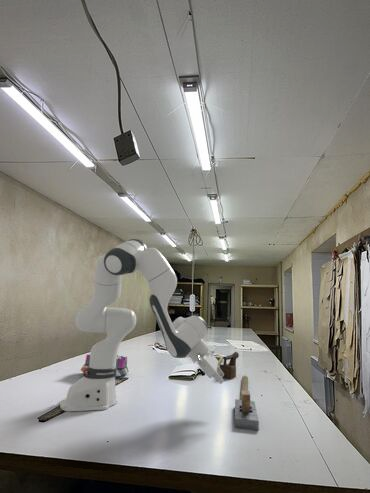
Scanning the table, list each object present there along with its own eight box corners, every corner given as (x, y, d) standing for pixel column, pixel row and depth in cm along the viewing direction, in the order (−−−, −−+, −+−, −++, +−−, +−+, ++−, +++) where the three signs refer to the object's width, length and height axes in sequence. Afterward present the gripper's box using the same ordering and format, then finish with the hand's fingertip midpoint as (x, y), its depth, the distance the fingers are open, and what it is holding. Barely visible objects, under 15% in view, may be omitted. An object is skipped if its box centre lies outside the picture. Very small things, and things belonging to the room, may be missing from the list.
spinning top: (104, 382, 150) (108, 350, 155) (68, 374, 165) (73, 345, 169) (138, 378, 172) (141, 350, 176) (104, 371, 186) (108, 346, 190)
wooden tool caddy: (242, 375, 184) (242, 352, 186) (230, 379, 171) (230, 355, 174) (230, 373, 188) (231, 351, 191) (218, 377, 176) (218, 353, 179)
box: (223, 364, 208) (223, 356, 208) (214, 376, 187) (214, 368, 187) (212, 363, 211) (211, 355, 211) (202, 375, 190) (202, 367, 190)
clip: (242, 419, 112) (242, 394, 114) (241, 414, 118) (241, 390, 119) (250, 420, 112) (250, 394, 114) (249, 415, 117) (249, 390, 119)
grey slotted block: (235, 427, 105) (235, 418, 105) (235, 406, 126) (235, 399, 127) (258, 430, 104) (258, 420, 104) (254, 408, 125) (254, 401, 125)
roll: (248, 381, 171) (248, 375, 172) (248, 405, 130) (248, 398, 130) (241, 380, 172) (241, 375, 173) (240, 404, 131) (240, 397, 131)
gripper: (202, 351, 113) (228, 380, 110) (206, 343, 133) (228, 368, 130) (190, 362, 113) (215, 392, 110) (196, 352, 133) (218, 378, 130)
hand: (222, 379), depth 120 cm, fingers open, 8 cm apart
